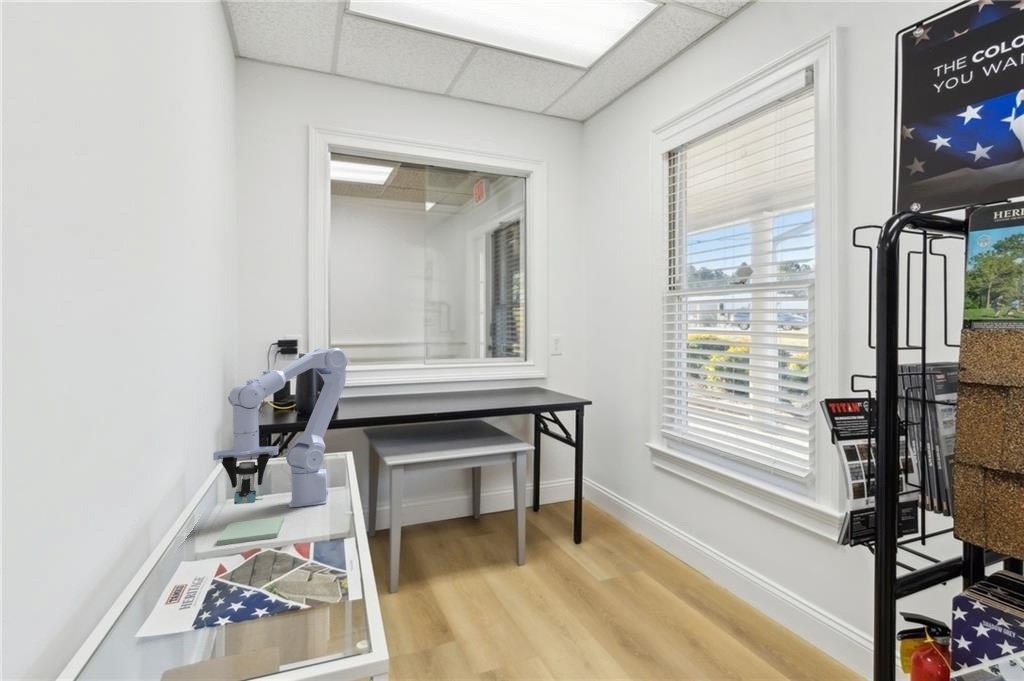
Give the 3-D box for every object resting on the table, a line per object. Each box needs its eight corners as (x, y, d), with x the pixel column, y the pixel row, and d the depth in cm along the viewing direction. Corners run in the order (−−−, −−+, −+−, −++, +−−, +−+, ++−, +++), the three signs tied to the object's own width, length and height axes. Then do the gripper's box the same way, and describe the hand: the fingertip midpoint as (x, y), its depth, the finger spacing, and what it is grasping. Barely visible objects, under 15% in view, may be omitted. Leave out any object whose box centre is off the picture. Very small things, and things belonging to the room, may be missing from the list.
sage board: (283, 520, 123) (283, 516, 123) (277, 537, 112) (277, 532, 112) (229, 527, 120) (229, 522, 120) (217, 545, 108) (217, 540, 108)
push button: (262, 498, 129) (265, 460, 130) (261, 504, 124) (264, 463, 125) (233, 500, 126) (236, 461, 127) (231, 506, 121) (234, 465, 122)
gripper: (209, 436, 120) (210, 493, 119) (275, 432, 124) (276, 486, 124) (217, 432, 126) (218, 485, 126) (279, 428, 131) (280, 479, 131)
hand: (247, 485), depth 125 cm, fingers closed on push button, 5 cm apart
